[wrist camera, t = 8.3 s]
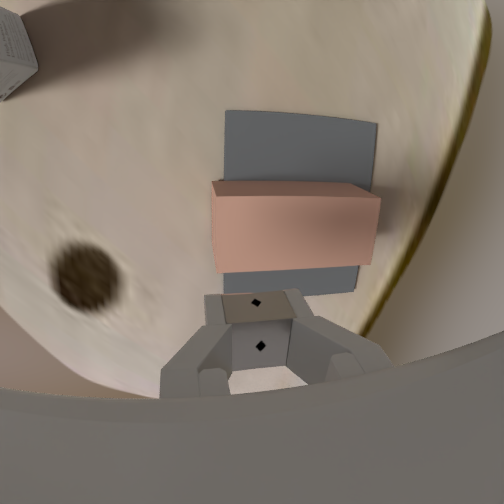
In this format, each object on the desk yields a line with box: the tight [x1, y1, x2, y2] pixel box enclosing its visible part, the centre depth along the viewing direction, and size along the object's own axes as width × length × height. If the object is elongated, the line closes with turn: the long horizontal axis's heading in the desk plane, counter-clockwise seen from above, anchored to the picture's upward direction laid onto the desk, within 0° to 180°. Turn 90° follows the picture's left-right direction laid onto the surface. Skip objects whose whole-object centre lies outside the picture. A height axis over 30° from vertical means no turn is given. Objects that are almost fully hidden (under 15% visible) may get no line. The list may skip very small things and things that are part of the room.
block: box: [212, 181, 381, 273], centre depth 21 cm, size 4×4×10 cm
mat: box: [224, 110, 376, 296], centre depth 23 cm, size 14×11×1 cm
